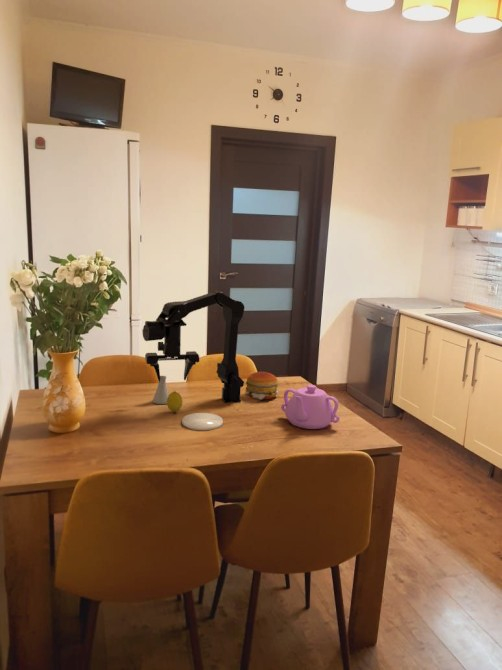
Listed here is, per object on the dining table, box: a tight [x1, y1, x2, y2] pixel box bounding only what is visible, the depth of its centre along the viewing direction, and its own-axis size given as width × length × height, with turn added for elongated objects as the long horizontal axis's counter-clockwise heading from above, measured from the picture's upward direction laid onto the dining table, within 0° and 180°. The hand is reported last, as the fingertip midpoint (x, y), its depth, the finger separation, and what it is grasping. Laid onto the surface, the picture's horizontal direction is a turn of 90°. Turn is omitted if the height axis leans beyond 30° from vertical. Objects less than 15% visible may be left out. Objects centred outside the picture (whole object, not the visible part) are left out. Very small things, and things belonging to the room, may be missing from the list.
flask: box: [152, 375, 170, 405], centre depth 200 cm, size 7×7×10 cm
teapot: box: [280, 384, 341, 430], centre depth 183 cm, size 22×22×14 cm
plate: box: [181, 412, 224, 432], centre depth 182 cm, size 14×14×1 cm
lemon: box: [166, 390, 183, 413], centre depth 190 cm, size 6×6×8 cm
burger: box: [245, 371, 279, 400], centre depth 212 cm, size 14×14×10 cm
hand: (172, 380), depth 190 cm, fingers open, 9 cm apart
